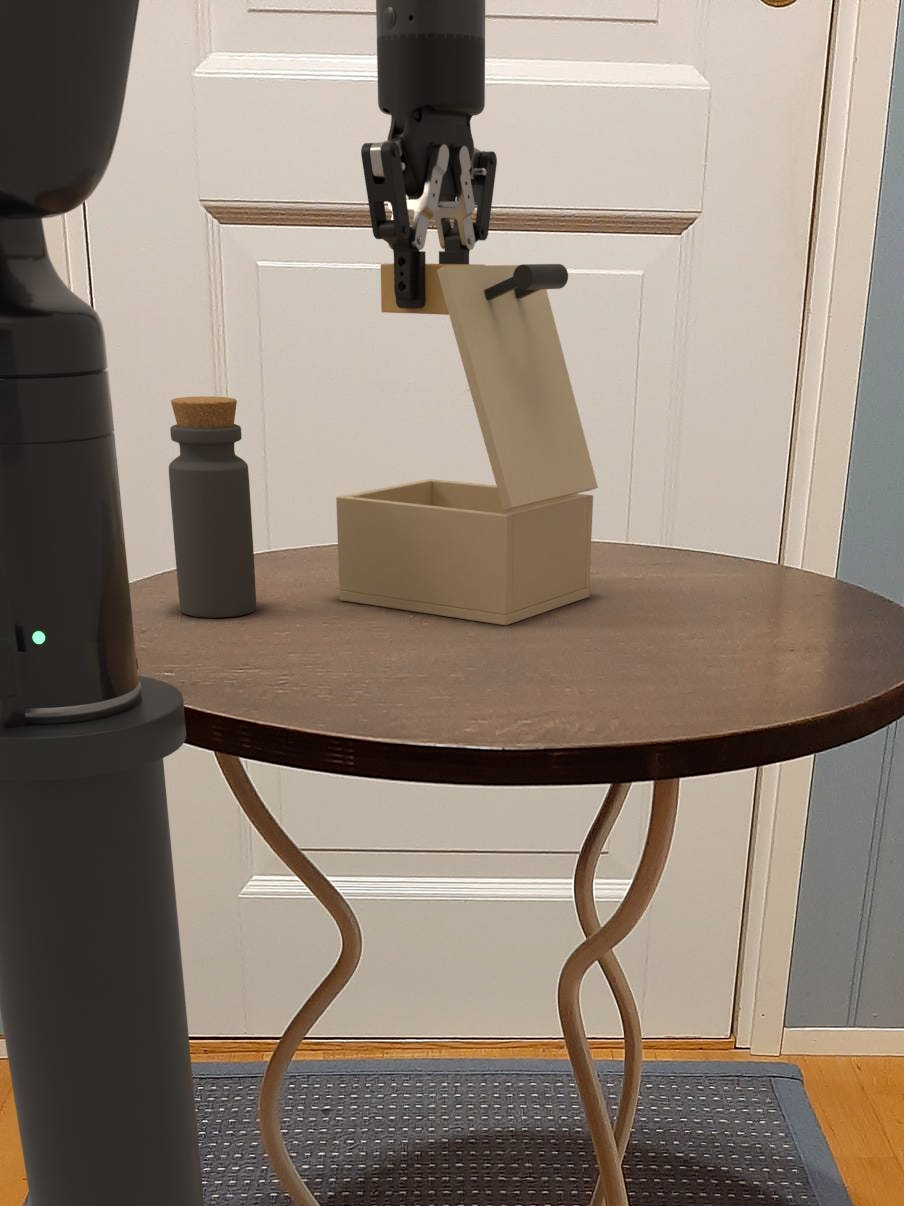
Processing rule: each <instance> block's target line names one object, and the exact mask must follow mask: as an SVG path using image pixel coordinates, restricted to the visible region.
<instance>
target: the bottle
mask: <svg viewBox="0 0 904 1206" xmlns="http://www.w3.org/2000/svg"><path fill="white" fill-rule="evenodd" d="M237 402H238V401H237V399H236V398H233V397H227V396H183V397H176V398H172V399H171V400H170V403H171V407H172V411H173V414H174V418H175V422H176V424H173V425H172V426H170V439H171V441H172V442H175V443H178V445H179V455H178V456H177V457H175V458H173V460H172V461H171V462H170V463H169V464H168V481H169V495H170V507H171V518H172V519H171V520H172V532H173V543H174V555H175V567H176V569H175V570H176V578H177V589H178V601H179V609H180V612H181V613H182V614H185V615H186V616H191V617H197V618H207V619H217V618H218V619H219V618H221V619H222V618H234V617H241V616H245V615H249V614H251V613H253V612H255V611H256V609H257V592H256V591H257V589H256V573H255V572H256V571H255V569H256V568H255V553H254V536H253V520H252V519H253V518H252V501H251V488H250V486H251V485H250V475H249V473H250V472H249V464H248V463H247V462H246V460H244V459H243V458H242V457H240V456H238V455H236V451H235V450H236V449H235V443H237V442H239V441H241V440H242V438H243V437H242V436H243V435H242V427H241V425H238V424H236V423H235V419H236V412H237V411H236V410H237Z"/></svg>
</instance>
